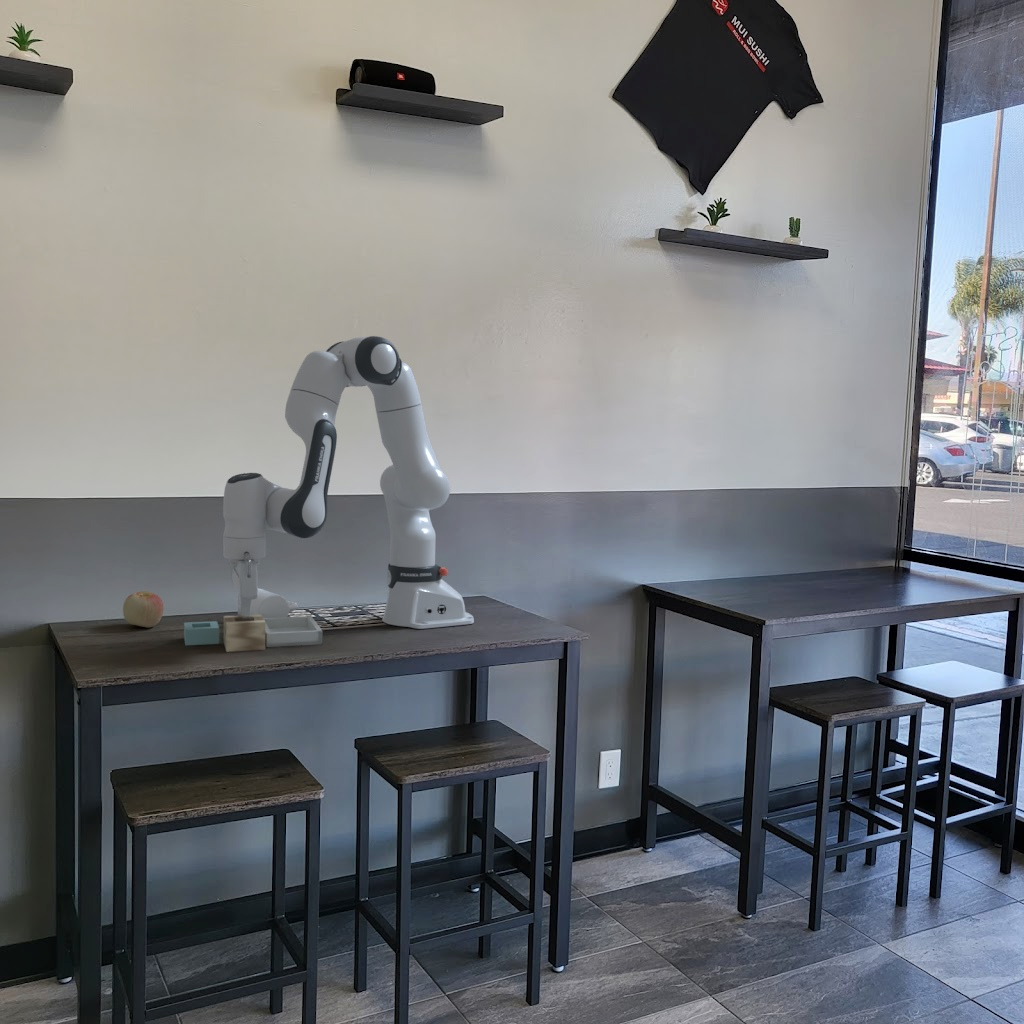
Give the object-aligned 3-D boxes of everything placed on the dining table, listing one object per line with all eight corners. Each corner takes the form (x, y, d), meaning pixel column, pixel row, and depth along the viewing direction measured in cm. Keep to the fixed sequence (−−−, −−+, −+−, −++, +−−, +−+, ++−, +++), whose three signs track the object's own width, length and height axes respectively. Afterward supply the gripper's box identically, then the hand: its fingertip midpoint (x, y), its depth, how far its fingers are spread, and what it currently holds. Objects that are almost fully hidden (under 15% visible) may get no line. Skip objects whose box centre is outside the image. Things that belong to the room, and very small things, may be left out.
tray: (311, 628, 234) (311, 616, 234) (322, 644, 219) (322, 631, 219) (258, 631, 230) (258, 618, 229) (266, 647, 215) (266, 633, 214)
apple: (146, 621, 236) (145, 588, 236) (171, 626, 232) (171, 592, 231) (114, 627, 229) (114, 593, 228) (140, 633, 224) (140, 598, 224)
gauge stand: (216, 636, 223) (216, 621, 223) (219, 643, 217) (219, 627, 216) (184, 638, 221) (184, 622, 220) (185, 645, 214) (185, 629, 214)
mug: (258, 630, 231) (258, 596, 230) (239, 622, 239) (239, 589, 238) (304, 624, 239) (305, 591, 238) (285, 617, 246) (285, 585, 245)
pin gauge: (250, 636, 217) (251, 582, 216) (251, 639, 214) (252, 584, 213) (236, 637, 216) (236, 582, 215) (237, 640, 213) (237, 585, 212)
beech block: (261, 641, 220) (261, 614, 220) (265, 649, 213) (265, 622, 212) (223, 642, 217) (223, 616, 217) (226, 651, 210) (226, 623, 209)
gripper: (265, 556, 204) (264, 622, 206) (255, 542, 223) (254, 603, 225) (233, 556, 202) (233, 623, 204) (225, 543, 221) (225, 604, 223)
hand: (244, 612), depth 214 cm, fingers closed on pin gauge, 3 cm apart
